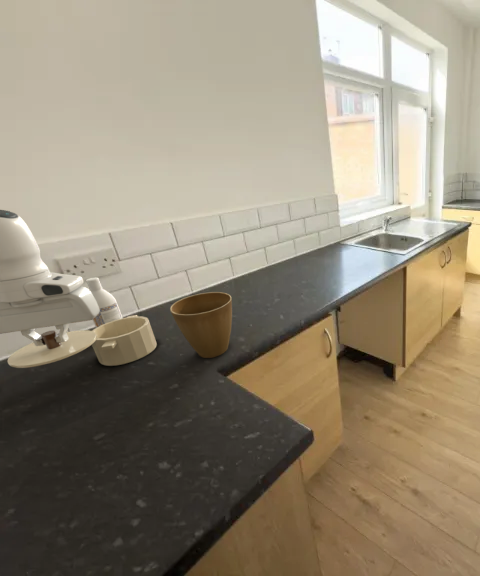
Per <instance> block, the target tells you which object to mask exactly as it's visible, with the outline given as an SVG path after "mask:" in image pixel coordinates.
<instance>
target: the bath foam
mask: <svg viewBox="0 0 480 576" xmlns="http://www.w3.org/2000/svg"><path fill="white" fill-rule="evenodd" d="M85 282H86V284H87V287H88V289H89V290H90V292H91V293H92V295H93V296H94V298H95V300H96V302H97V304H98V306H99V309H100V312H99V314H98V315H97V316H96V317H95V318H94V319H93V320H92V322H93V324H94V326H95V328H97V327H99V326H101V325H103V324H106V323H108V322H111V321H114V320H118V319H122V318H124V317H123V315H122V312H121V310H120V307H119V305H118V301H117V300H116V298H115V296H113V294H112V293H110V292H109V291H108V290H106V289H104V287H103V286H102V283H101V281H100V278H99V277H95V276H94V277H90V278H86V280H85Z"/></svg>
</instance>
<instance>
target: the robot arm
mask: <svg viewBox="0 0 480 576" xmlns="http://www.w3.org/2000/svg"><path fill="white" fill-rule="evenodd" d="M83 285H84V279H83V277H82V276H81V275H75V274H68V273H67V274H66V273H59V272H54V271H51V270H50V268H49V267H48V265H47V264H46V263H45V262H44V261H43V259H42V257H41V248H40V247H39V245H38V242H37V240H36V238H35V236H34V234H33V232H32V231H31V229H30V227H29V226H28V223H27V222H25V220H24V219H23V218H22V217H21V216H20V215H19V214H17V213H15V212H13V211H10V210H5V209H0V335H2V334H3V335H4V334H9V333H14V332H20V334H21V335H22V336H24V338H27V339H29V340H30V341H32V343H33V342H34V344H35V346H42V345H45V343H44V341H43V339H42V337H41V334H39V333H38V332H36V331H35V330H37V329H42V328H48V327H55V329H56V330H58V331H59V332H58V333H57V335H56V336H55V337H54V338H55V340H56V342H57V343H61V342H66V341H67V340H68V339H69V337H68V335H67V333H66V332H68V329H69V326H70V324H75V323H76V324H77V323H82V322H88V321H93V319H94V318H95V317H96V316H97V315H98V314H99V312H100V309H99V306H98V304H97V302H96V300H95V298H94V296H93V295H92V293H91V292H90V289H89V288H87V287H86V286H83Z"/></svg>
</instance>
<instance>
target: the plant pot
mask: <svg viewBox="0 0 480 576" xmlns="http://www.w3.org/2000/svg"><path fill="white" fill-rule="evenodd" d="M169 311H170V313H171V315H172V317H173V319H174V321H175V323H176V325H177V327H178V329H179V330H180V332H181V333H182V335H183V336H184V338H185V340H186V341H187V342H188V343H189V345H190V346H191V347H192V349H193V350H194V351H195V352H196V353H197V354H198V356H199V357H200V358H203V359H212V358H216V357H219V356H221V355H223V354H224V353H226V352H227V351H228V348H229V345H230V338H231V332H232V322H233V301H232V296H231V295H230V294H229V293H226V292H220V291H211V292H202V293H197V294H193V295H189V296H187V297H186V296H185V297H183V298H181V299H179V300H177V301H175V302H174V303H173V304H171V305H170V307H169Z"/></svg>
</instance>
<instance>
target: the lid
mask: <svg viewBox="0 0 480 576" xmlns="http://www.w3.org/2000/svg"><path fill="white" fill-rule="evenodd" d="M66 333H67V335H68V337H69V339H68V340H67V341H66V342H61V343H57V342H56V340H55V338H54V337H55V336H56V335H57V334H58V333H57V331H56V330H48V331H45V332H43V333H41V334H40V335H41V337H42V339H43V341H44V343H45V345H42V346H35V344H34V342H33V341H32V342H31V343H29V344H26V345H24V346H22V347H21V348H19V349H17V350H16V351H14V352H13V353H12V354H10V355H9V356H8V359H7V364H8V365H9V366H10V367H12V368H17V369H27V368H35V367H40V366H44V365H47V364H51V363H55V362H58V361H61V360H64V359H67V358H70V357H71V356H75V355H76V354H79V353H80V352H83V351H84V350H86V349H87V348H90V346H92V344H93V343H94V342H95V341H96V339H97V335H96V333H95V332H93V331H92V330H89V329H88V330H87V329H86V330H85V329H82V330H80V329H79V330H72V331H67V332H66Z"/></svg>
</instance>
